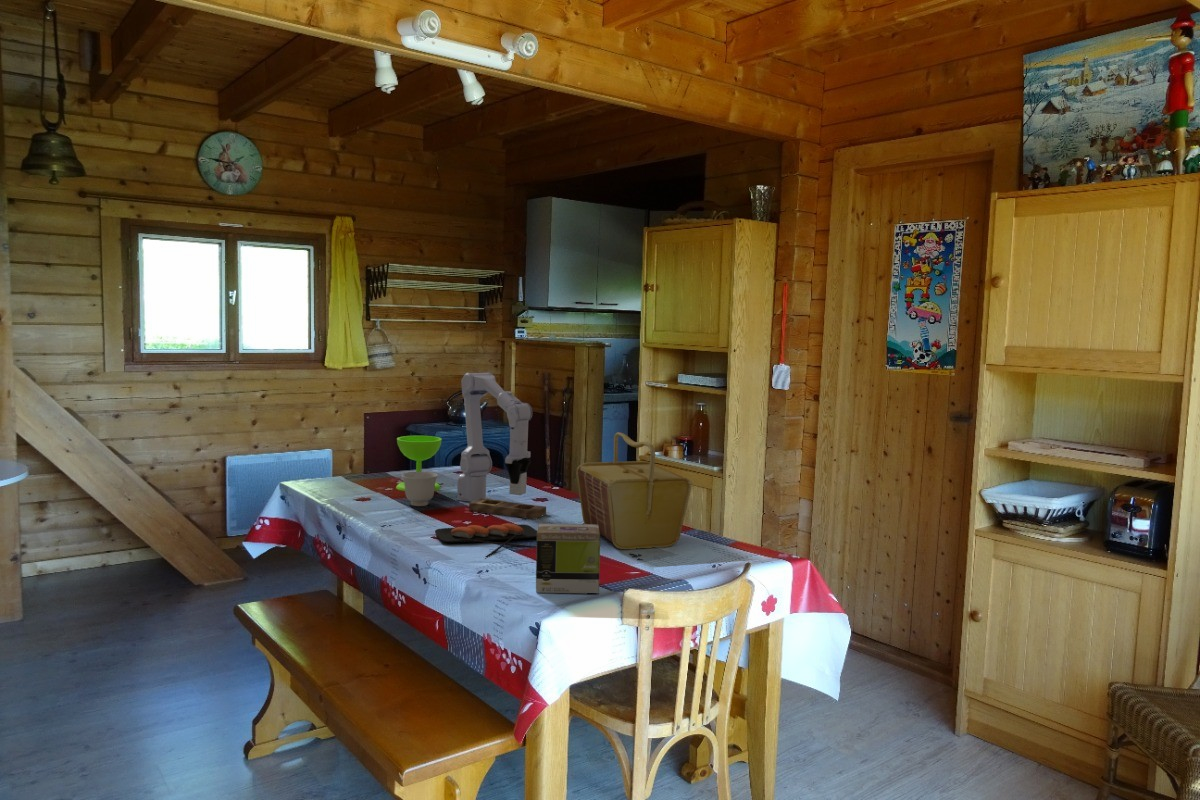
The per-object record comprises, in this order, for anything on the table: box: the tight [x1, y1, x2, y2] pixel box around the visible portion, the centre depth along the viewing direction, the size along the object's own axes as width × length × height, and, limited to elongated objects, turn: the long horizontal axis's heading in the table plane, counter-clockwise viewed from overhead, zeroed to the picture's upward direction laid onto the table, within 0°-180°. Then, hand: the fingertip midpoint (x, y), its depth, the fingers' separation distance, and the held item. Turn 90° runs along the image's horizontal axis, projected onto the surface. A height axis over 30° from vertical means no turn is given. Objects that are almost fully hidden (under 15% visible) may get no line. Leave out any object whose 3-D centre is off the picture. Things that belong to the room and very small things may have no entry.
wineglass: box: [395, 435, 443, 492], centre depth 316 cm, size 16×16×18 cm
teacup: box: [401, 471, 439, 507], centre depth 290 cm, size 12×15×10 cm
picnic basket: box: [575, 431, 692, 550], centre depth 255 cm, size 29×26×30 cm
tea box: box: [535, 523, 601, 594], centre depth 207 cm, size 15×10×15 cm
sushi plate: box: [434, 522, 537, 558], centre depth 244 cm, size 29×30×4 cm
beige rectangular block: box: [508, 471, 528, 496], centre depth 281 cm, size 4×4×7 cm
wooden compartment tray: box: [468, 498, 547, 520], centre depth 283 cm, size 24×8×3 cm, turn 69°
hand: (517, 482), depth 281 cm, fingers closed on beige rectangular block, 4 cm apart
